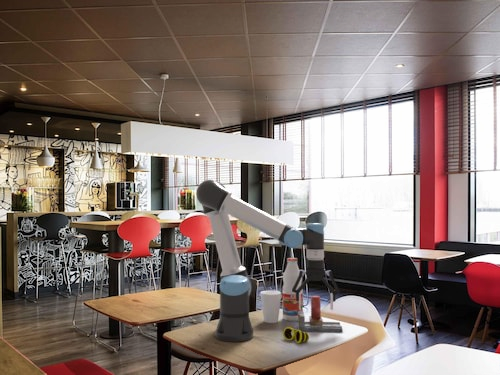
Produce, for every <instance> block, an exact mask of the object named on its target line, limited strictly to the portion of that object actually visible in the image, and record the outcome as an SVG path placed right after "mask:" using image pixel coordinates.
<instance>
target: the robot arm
mask: <svg viewBox="0 0 500 375" xmlns="http://www.w3.org/2000/svg"><path fill="white" fill-rule="evenodd" d="M196 199H197V202H198V203H200V205H201V206H202V210H203V215H205V216H206V217H207V218H208V219H209V224H210V228H211V231H212V235H213V238H214V239H213V240H214V242H215V246H216V251H217V254H218V259H219V263H220V266H221V269H222V271H221V273H220V274H219V275H220V282H219V319H218V322H217V326H216V329H215V339H217V340H218V341H219V340H220V341H222V342H228V343H229V342H233V343H234V342H236V343H237V342H245V341H249V340H250V339H253V338H254V328H253V325H252V323H251V319H250V295H251V293H252V281H251V280H250V279H249V276H248V272H247V268H246V267H245V266H243V265H242V263H241V258H240V255H239V251H238V247H237V243H236V239H235V236H234V231H233V228H232V227H233V226H232V224H231V221H230V216H232V217H233V218H235V219H236V220H239V221H240V222H242V223H245V225H248V226H250V227H252V228H253V229H256V230H258V231H259V232H262V233H263V234H265V235H267V236H269V237H271V239H274V240H276V241H278V244H279V245H281V246H286V247H288V248H290V249H297V248H299V247H300V246H306V247H305V248H306V270H303V269H299V276H298V278H297V280H296V282H295V284H294V286H293V288H292V292H295V293H296V300H297V301H299V309H301V293H299V292H300V291H301V290H302V289H304V288H305V287H306V286H307V284H308V283H309V282H310V281H311V282H320V281H322V283H324V285H325V286H326V287H327V289H328V290H329V291H330V292H331V293H330V294H329V295H330V300H329V302H330V303H329V304H330V310H331V311H333V310H334V302H336V294H339V293H340V288H339V286H338V284H337V282H336V281H335V279H334V277H333V272H332V270H330V269H329V270H325V260H324V258H325V231H324V225H323V223H320V222H319V223H318V222H314V223H313V222H310V223H306V224H305V227H293V226H291V225H289V224H287V223H285V222H283V221H281V220H280V219H277V218H275V217H274V216H272V215H270V214H268V213H266V212H264V211H263V210H261V209H259V208H257V207H255V206H253V205H251V204H249V203H247V202H245V200H244V201H243V200H242V199H240V198H238V197H236V196H234V195H233V193H232V192H231V191H230V190H228V189H226V187H225V185H224V184H222V183H221V182H219V181H216V180H214V179H208V180H203V181H202V182H201V183H199V185H198V186H197V188H196ZM304 275H306V276H307V277H306V278H305V279H304V281H302V282H301V286H300V287H299V288H298V289H297V290H296V288H297V286H298V284H299V282H300V280H301V278H302V279H303V276H304ZM325 276H328V277H329V279H330V282H331V283H332V285H333V287H332V285H330V283H329V282H328V281H327V280H326V279H325V278H324V277H325ZM333 288H334V289H333Z"/></svg>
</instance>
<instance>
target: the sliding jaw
mask: <svg viewBox="0 0 500 375" xmlns="http://www.w3.org/2000/svg"><path fill="white" fill-rule="evenodd" d="M321 306H322V305H321V296H319V295H311V296H310V315H309V316H308V317H309V318H308V319H309V321H310V324H311V325H323V322H324V320H323V317H322V314H321V313H322V312H321V311H322V310H321V309H322V308H321Z"/></svg>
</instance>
